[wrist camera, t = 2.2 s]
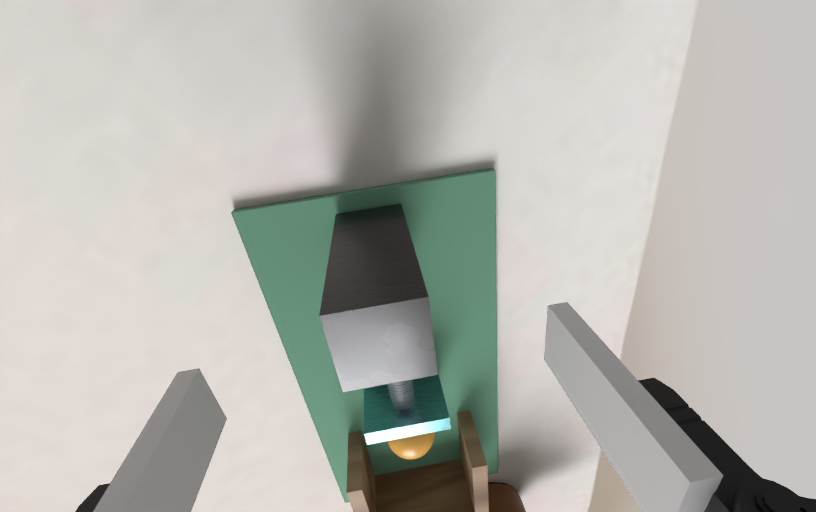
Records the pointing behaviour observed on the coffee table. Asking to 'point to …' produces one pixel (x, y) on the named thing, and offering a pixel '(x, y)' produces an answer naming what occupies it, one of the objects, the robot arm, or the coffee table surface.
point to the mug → (504, 499)
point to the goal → (421, 479)
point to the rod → (382, 325)
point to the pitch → (446, 286)
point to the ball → (412, 445)
